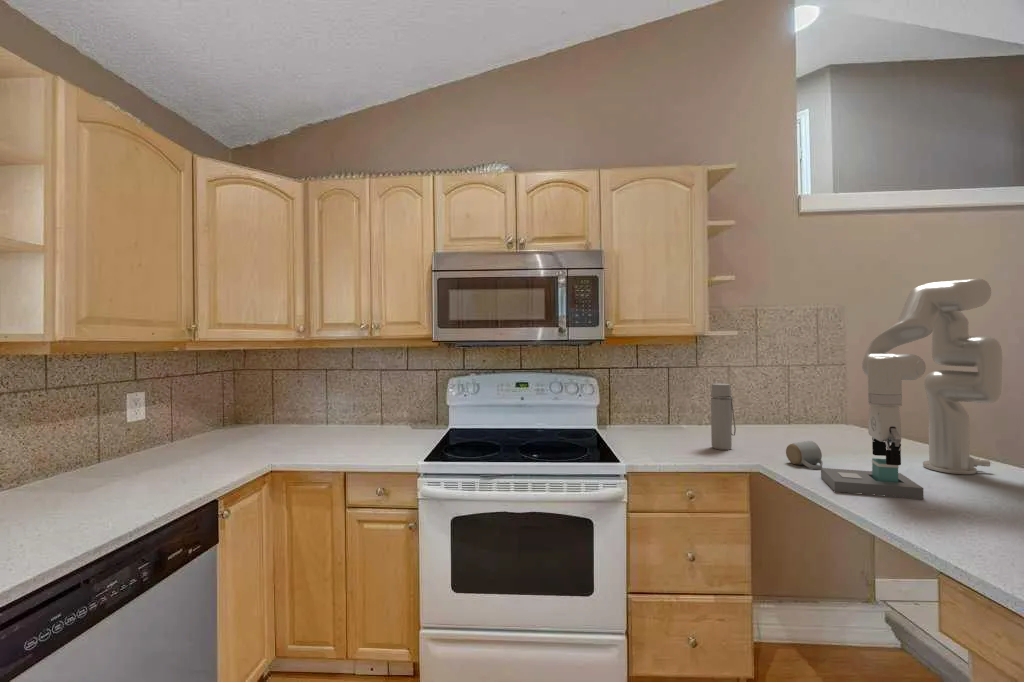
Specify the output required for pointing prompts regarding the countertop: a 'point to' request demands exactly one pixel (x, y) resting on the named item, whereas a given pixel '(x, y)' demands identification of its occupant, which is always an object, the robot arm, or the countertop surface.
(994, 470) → the countertop surface
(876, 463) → the block
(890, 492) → the block
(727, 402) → the water bottle
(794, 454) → the ceramic mug
